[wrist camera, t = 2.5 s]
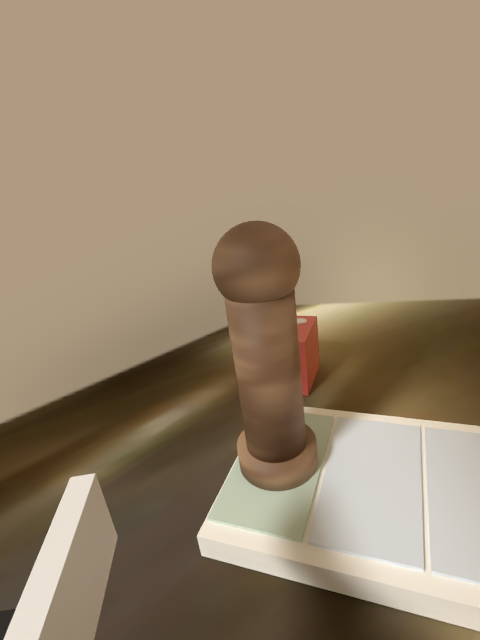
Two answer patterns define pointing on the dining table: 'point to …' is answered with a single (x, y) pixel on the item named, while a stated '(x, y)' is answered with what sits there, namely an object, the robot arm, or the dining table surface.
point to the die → (308, 350)
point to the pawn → (266, 353)
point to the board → (367, 516)
